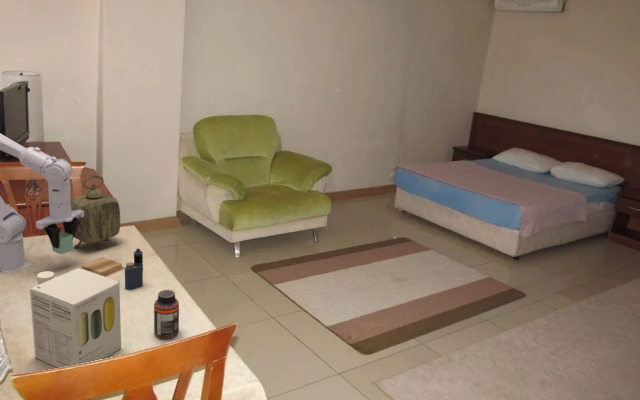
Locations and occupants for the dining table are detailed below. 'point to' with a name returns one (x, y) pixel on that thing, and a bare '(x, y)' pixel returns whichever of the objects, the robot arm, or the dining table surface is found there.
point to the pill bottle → (44, 277)
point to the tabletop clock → (96, 215)
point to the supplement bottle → (166, 315)
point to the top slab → (102, 266)
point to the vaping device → (134, 272)
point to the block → (64, 243)
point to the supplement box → (76, 318)
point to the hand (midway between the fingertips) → (62, 245)
